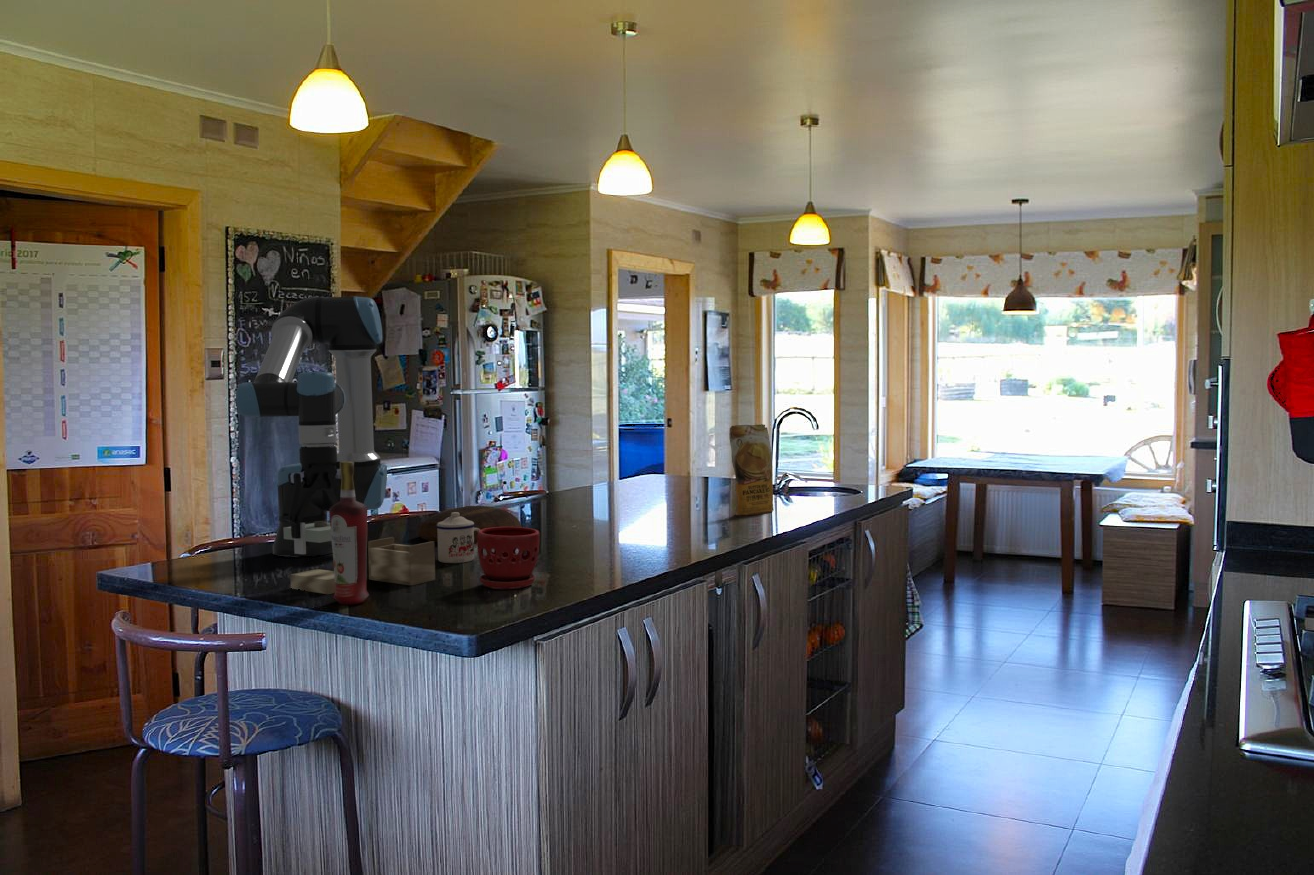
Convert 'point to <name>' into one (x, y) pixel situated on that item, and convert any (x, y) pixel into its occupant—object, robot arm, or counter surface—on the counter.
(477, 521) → the bread
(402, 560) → the wooden box
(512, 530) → the plant pot
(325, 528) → the lid
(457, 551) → the teacup with lid
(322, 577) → the stand
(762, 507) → the pancake mix bag
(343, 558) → the liquor
